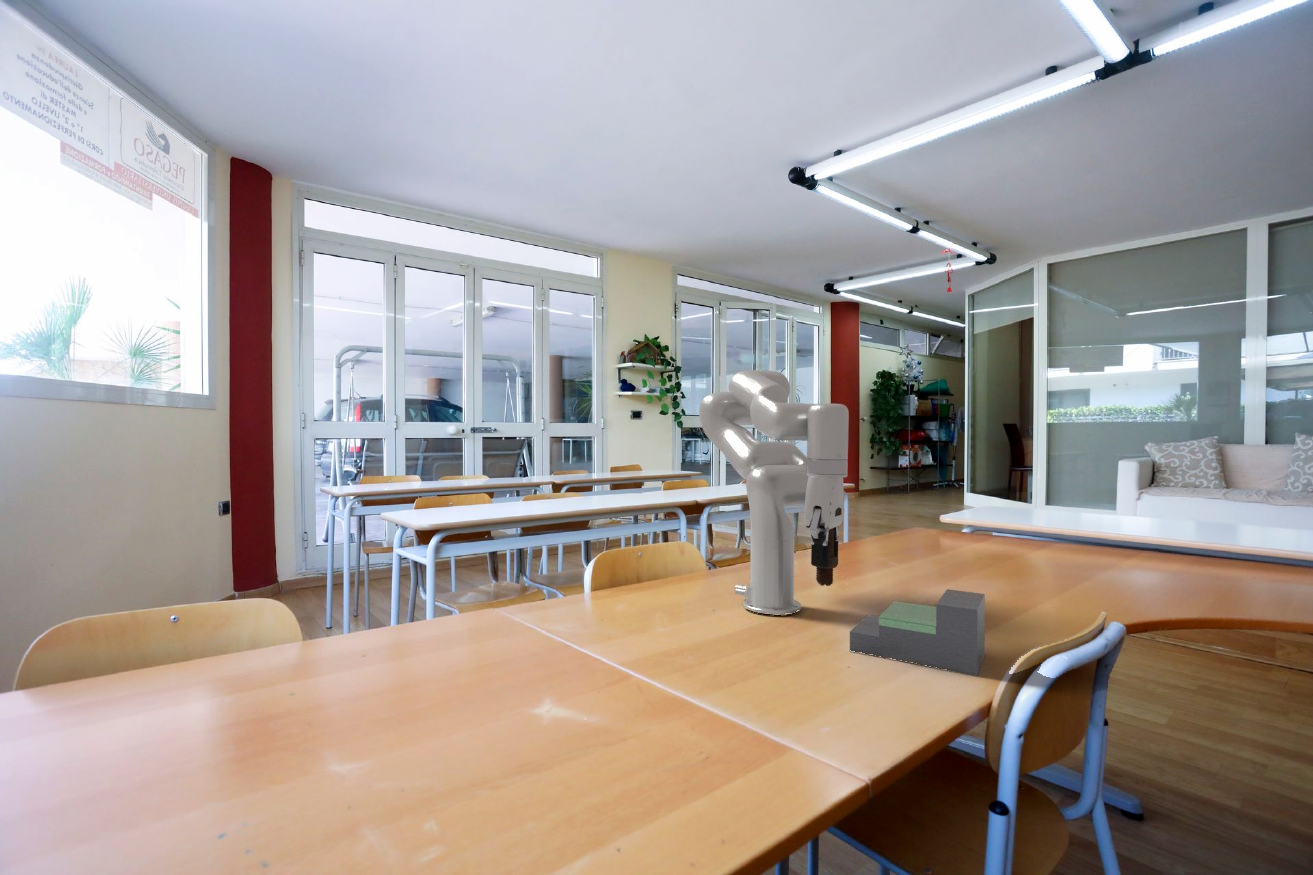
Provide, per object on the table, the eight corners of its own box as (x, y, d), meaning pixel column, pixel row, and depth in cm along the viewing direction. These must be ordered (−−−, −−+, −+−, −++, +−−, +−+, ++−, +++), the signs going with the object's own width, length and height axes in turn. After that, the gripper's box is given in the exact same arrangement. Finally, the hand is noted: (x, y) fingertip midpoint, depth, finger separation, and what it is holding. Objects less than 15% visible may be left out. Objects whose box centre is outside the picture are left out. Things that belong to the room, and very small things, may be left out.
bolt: (837, 581, 118) (839, 504, 118) (842, 588, 113) (844, 508, 113) (806, 580, 119) (808, 504, 119) (810, 587, 114) (812, 507, 114)
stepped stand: (849, 651, 107) (849, 592, 107) (867, 633, 117) (867, 578, 117) (977, 676, 96) (977, 610, 96) (984, 653, 106) (984, 593, 106)
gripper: (821, 465, 125) (819, 553, 125) (791, 470, 110) (789, 569, 111) (858, 467, 121) (856, 558, 121) (832, 472, 106) (830, 575, 107)
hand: (824, 562), depth 116 cm, fingers closed on bolt, 5 cm apart
